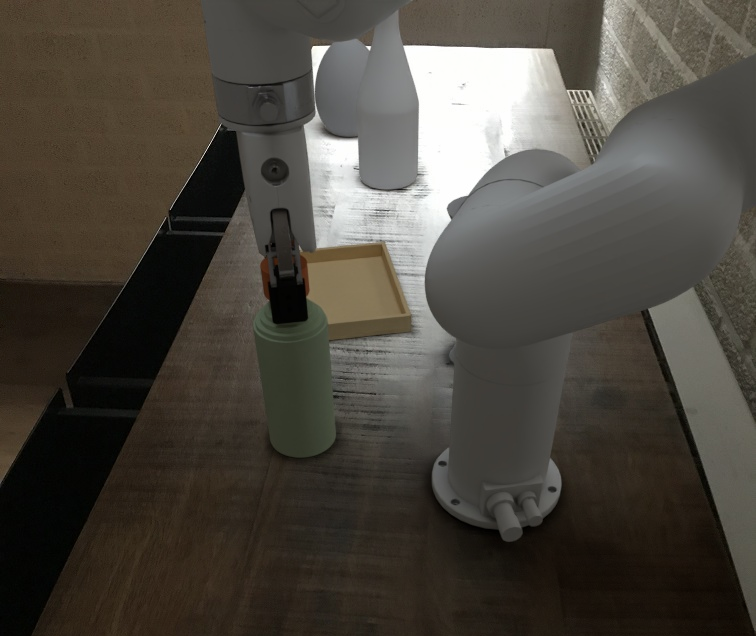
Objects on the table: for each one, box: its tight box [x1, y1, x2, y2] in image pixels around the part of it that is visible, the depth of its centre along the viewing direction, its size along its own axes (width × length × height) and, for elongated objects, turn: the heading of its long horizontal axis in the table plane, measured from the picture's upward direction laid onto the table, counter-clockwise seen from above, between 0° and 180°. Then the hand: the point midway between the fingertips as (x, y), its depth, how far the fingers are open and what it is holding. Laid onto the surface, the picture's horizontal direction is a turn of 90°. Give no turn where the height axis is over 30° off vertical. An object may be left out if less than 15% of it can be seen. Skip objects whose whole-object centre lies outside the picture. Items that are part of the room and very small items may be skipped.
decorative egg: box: [314, 38, 370, 138], centre depth 140 cm, size 12×12×15 cm
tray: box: [300, 241, 412, 341], centre depth 103 cm, size 19×14×2 cm
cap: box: [259, 255, 310, 302], centre depth 71 cm, size 4×4×3 cm
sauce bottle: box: [252, 298, 337, 459], centre depth 78 cm, size 7×7×20 cm
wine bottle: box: [357, 9, 420, 191], centre depth 119 cm, size 10×10×30 cm
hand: (288, 305), depth 73 cm, fingers closed on cap, 4 cm apart
